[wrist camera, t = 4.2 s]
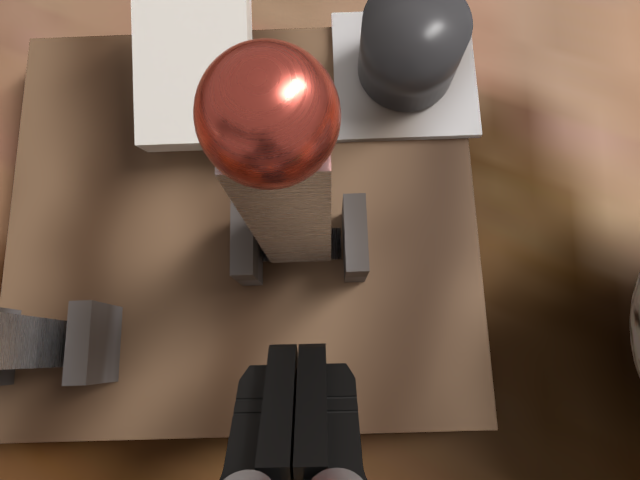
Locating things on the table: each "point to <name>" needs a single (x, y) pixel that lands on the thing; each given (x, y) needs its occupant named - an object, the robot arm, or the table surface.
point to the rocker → (178, 63)
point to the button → (412, 50)
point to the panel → (237, 260)
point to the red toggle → (273, 144)
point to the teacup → (635, 324)
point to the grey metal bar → (31, 342)
